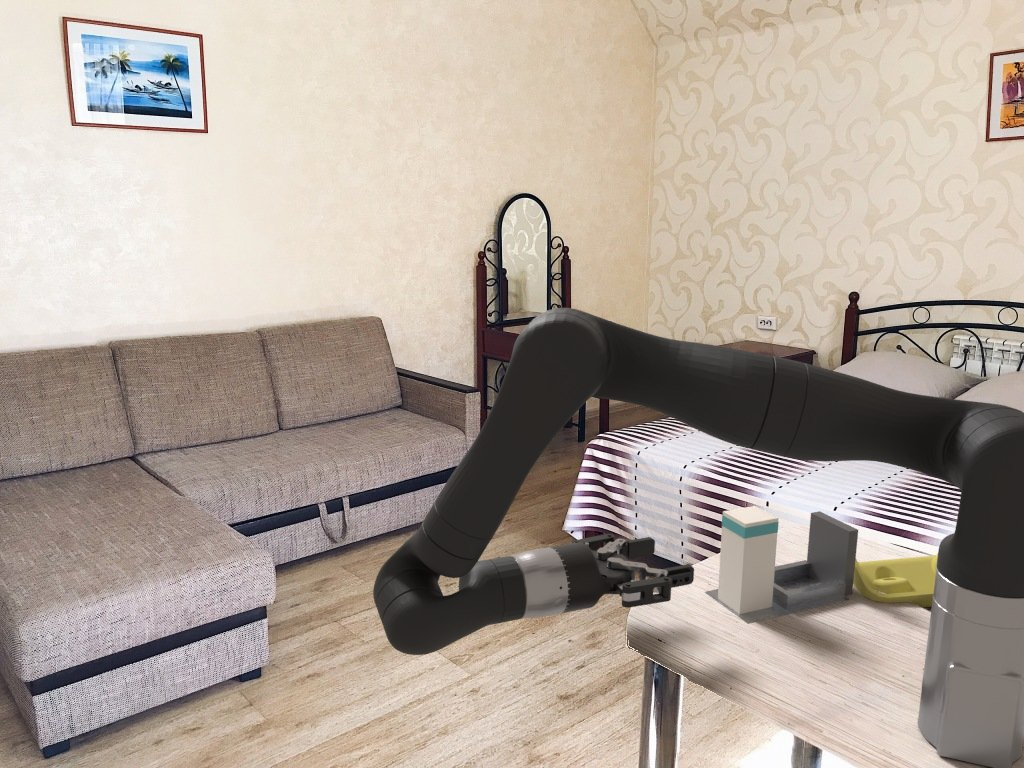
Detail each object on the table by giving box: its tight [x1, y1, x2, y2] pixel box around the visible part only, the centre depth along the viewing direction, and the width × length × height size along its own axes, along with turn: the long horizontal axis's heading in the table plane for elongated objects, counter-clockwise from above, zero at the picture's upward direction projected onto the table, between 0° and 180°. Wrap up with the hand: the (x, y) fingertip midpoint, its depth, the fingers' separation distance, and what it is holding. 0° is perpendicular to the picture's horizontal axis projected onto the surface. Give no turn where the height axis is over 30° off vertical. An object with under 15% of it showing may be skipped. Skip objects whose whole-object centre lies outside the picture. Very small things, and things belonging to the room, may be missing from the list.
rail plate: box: [704, 559, 850, 624], centre depth 110 cm, size 16×9×4 cm, turn 113°
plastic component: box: [853, 553, 938, 608], centre depth 114 cm, size 20×7×10 cm
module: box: [717, 505, 779, 614], centre depth 107 cm, size 5×5×12 cm
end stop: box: [806, 511, 859, 597], centre depth 113 cm, size 2×7×10 cm, turn 22°
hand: (671, 559), depth 103 cm, fingers open, 8 cm apart
